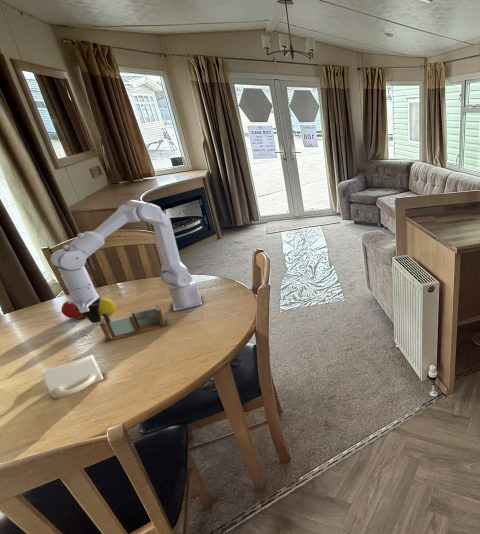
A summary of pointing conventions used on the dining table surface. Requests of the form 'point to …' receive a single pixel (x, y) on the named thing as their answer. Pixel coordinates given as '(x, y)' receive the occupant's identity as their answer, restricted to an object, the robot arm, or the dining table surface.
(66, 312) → the tomato
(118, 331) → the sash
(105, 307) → the lemon
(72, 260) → the robot arm
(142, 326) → the window frame
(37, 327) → the dining table surface
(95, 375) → the white box with handle
